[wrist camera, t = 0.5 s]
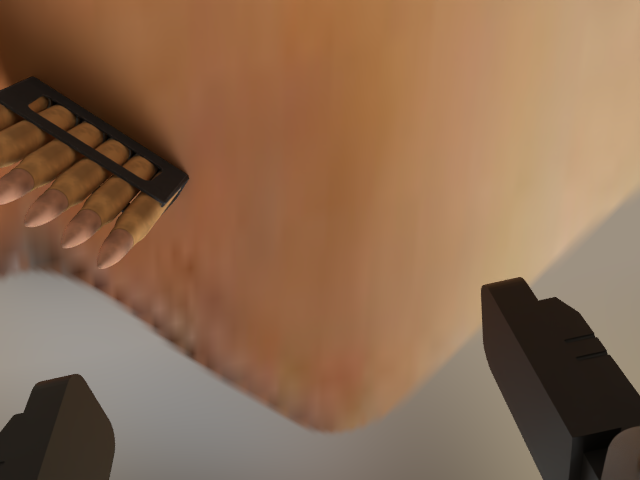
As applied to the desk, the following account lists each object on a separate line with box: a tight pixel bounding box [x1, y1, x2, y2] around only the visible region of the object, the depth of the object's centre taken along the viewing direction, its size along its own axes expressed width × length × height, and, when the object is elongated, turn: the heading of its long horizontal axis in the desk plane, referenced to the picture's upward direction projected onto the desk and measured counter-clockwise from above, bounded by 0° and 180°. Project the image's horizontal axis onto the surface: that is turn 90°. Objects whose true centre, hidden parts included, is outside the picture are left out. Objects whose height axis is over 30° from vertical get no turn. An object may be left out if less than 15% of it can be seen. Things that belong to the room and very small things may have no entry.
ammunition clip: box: [0, 77, 189, 269], centre depth 31 cm, size 11×2×12 cm, turn 55°
